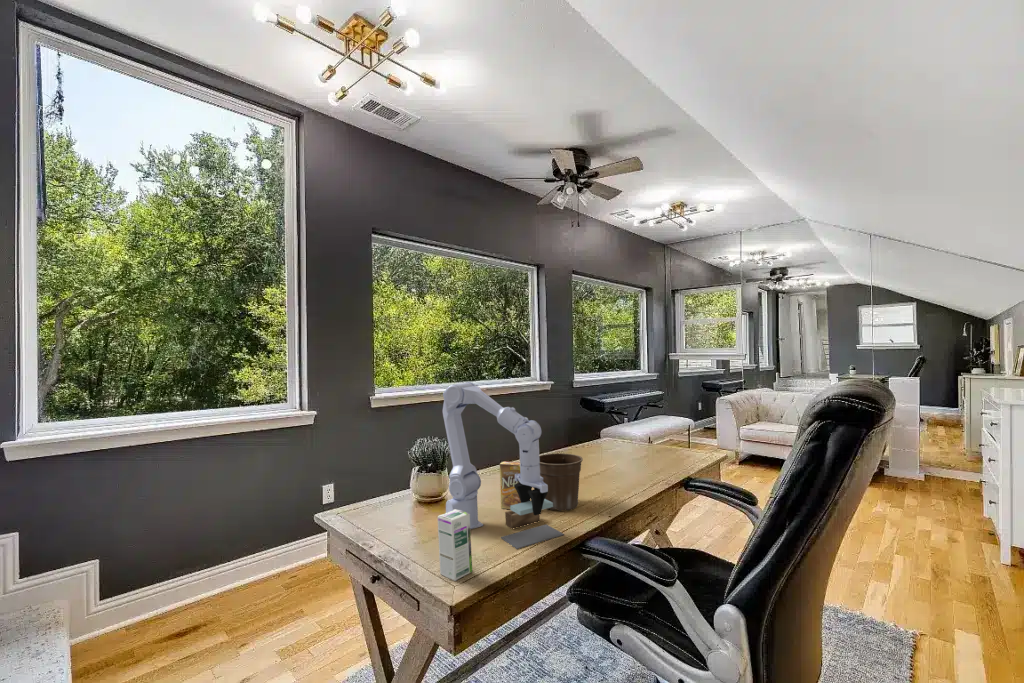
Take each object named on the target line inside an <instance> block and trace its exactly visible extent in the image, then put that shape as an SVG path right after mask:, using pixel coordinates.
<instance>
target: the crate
mask: <svg viewBox="0 0 1024 683" xmlns="http://www.w3.org/2000/svg"><path fill="white" fill-rule="evenodd" d="M504 513H505V514H504V515H505V526H507V527H508V528H510V529H511V528H512V529H511V530H514V529H513V528H515V529H517V528H516V527H519V528H521V527H520V526H522V527H525V526H524V525H526V526H528V525H527V524H529V525H532V524H531V523H533V524H535V523H534V522H537V523H539V522H538V521H540V522H541V519H540V518H541V517H540V515H541V514H539V515H534V514H533V512H532V513H528V514H524V515H519V514H517V513H515V512H513V511H512V510H508V511H505V512H504Z"/></svg>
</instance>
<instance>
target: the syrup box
mask: <svg viewBox="0 0 1024 683" xmlns="http://www.w3.org/2000/svg"><path fill="white" fill-rule="evenodd" d="M437 533H438V534H437V535H438V553H439V554H438V555H439V572H440V575H441V576H443V577H445V578H447V579H450V580H452V581H454V582H457V581H458V580H460V579H461V578H463V577H465V576H467V575H469V574H471V573H472V572H473V560H472V559H473V558H472V557H473V555H472V541H471V540H472V535H471V534H472V532H471V529H470V514H469V513H467V512H464V511H461V510H456V509H454V510H453V511H450V512H448V513H446V512H445V513H443V514H439V515H438V516H437Z"/></svg>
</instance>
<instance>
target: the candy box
mask: <svg viewBox="0 0 1024 683" xmlns="http://www.w3.org/2000/svg"><path fill="white" fill-rule="evenodd" d="M519 473H520V461H505V460H504V461H501V462H500V463H499V479H500V481H499V483H500V484H499V485H500V486H499V487H500V489H499V490H500V508H501V509H504V510H505V509H507V510H510V506H511V505H515V504H519V503H521V501H520V498H519V495H518V493H517V491H516V489H515V487H514V485H515V484H518V483H519V482H518V481H515V474H519Z"/></svg>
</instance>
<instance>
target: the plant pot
mask: <svg viewBox="0 0 1024 683" xmlns="http://www.w3.org/2000/svg"><path fill="white" fill-rule="evenodd" d="M539 458H540V476H541V477H543V480H542V481H543V482H544V483H545V484H547V485H548V493H547V495H546V497H545V499H546V500H548V501H550V502H552V503H553V507H551V508H547V509H546V510H549V509H550V511H556V510H557V511H558V512H562V511H561V510H567V511H571V509H572V510H574V509H576V508H577V507H578V505H579V491H580V490H579V488H580V473H581V470H582V469H581V468H582V462H583V457H582V456H580V455H577V454H572V453H560V452H559V453H557V452H556V453H546V454H541V455H540V454H539Z"/></svg>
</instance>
